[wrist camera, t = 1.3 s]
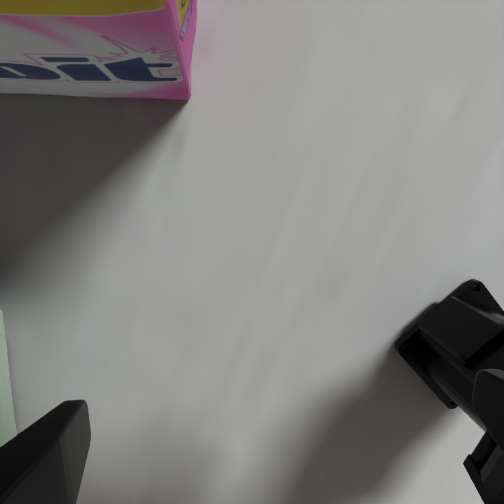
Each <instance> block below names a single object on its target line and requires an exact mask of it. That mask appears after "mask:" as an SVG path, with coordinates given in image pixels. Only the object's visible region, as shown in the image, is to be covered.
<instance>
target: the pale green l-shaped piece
mask: <svg viewBox="0 0 504 504" xmlns="http://www.w3.org/2000/svg"><path fill="white" fill-rule="evenodd" d="M16 435H17V432H16V423H15V415H14V406H13V398H12V389H11V381H10V372H9V364H8V355H7V347H6V338H5V330H4V321H3V313H2V310H0V447H1V446H3V445H4V444H5V443H7V442H8V441H10V440H11V439H12V438H14V437H15V436H16Z"/></svg>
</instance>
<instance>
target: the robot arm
mask: <svg viewBox="0 0 504 504" xmlns="http://www.w3.org/2000/svg"><path fill="white" fill-rule="evenodd" d="M475 285H476V287H475V289H474V290H472V289H473V287H474V286H475ZM405 345H407V346H406V348H405V349H402V348H403V346H405ZM395 349H396V351H397V352H398V353H399V354H400V355H401V356H402V357H403V358H404V360H405V361H406V362H407V363H408V364H409V365H410V366H411V367H412V368H413V370H414V371H415V372H416V373H417V374H418V375H419V376H420V377H421V379H422V380H423V381H424V382H425V383H426V384H427V385H428V386H429V387H430V389H431V390H432V391H433V392H434V393H435V394H436V395H437V396H438V397H439V399H440V400H441V401H442V402H443V403H444V404H445V405H446V406H447V407H448V408H450V409H453V408H456V407H458V406H459V407H460V408H461V409H462V410H463V411H464V412H465V413H466V414H467V415H468V416H469V417H470V418H471V419H472V420H473V421H474V422H475V423H476V424H477V425H478V426H480V427H481V428H482V429H483V430H484V431H485V434H484V435H483V437H482V438H481V440H480V441H479V443H478V445H477V446H476V448H475V449H474V451H473V453H472V454H471V455H470V454H469V455H468V456H467V458H466V459H465V461H464V462H463V465H464V466H465V468H466V470H467V472H468V474H469V476H470V478H471V480H472V481H473V483H474V485H475V487H476V489H477V491H478V493H479V494H480V496H481V498H482V500H483V502H484V504H504V311H503V310H502V308H501V307H500V306H499V304H498V303H497V302H496V300H495V299H494V298H493V296H492V295H491V294H490V292H489V291H488V290H487V288H486V287H485V286H484V284H483V283H482V282H480V281H478V280H475V279H471V280H469V281H467V282H466V283H465V284H464V285H463V286H461V287H460V288H459V289H458V290H457V291H456V292H454V293H453V294H452V295H451V296H450V297H449V298H447V299H446V300H445V301H444V302H443V303H442V304H440V305H439V306H438V307H437V308H436V309H434V310H433V311H432V312H431V313H430V314H429V315H427V316H426V317H425V318H424V319H423V320H422V321H420V322H419V323H418V324H417V325H416V326H415V327H413V328H412V329H411V330H410V331H409V332H408V333H406V334H405V335H404V336H403V337H402V338H401V339H399V340H398V341H397V343H396V345H395ZM451 400H452V401H451ZM90 441H91V430H90V422H89V413H88V406H87V403H86V401H85V400H68V401H64V402H62V403H61V404H60V405H58V406H57V407H55V408H54V409H53V410H51V411H50V412H48V413H47V414H46V415H44V416H43V417H41V418H40V419H39V420H37V421H36V422H35V423H33V424H32V425H30V426H29V427H28V428H26V429H25V430H23V431H22V432H21V433H19V434H18V435H16V436H15V437H14V438H12V439H11V440H10V441H8V442H7V443H5V444H4V445H3V446H1V447H0V504H76V501H77V497H78V493H79V489H80V484H81V480H82V476H83V472H84V468H85V463H86V459H87V455H88V451H89V447H90Z"/></svg>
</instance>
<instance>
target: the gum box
mask: <svg viewBox="0 0 504 504" xmlns="http://www.w3.org/2000/svg"><path fill="white" fill-rule="evenodd" d="M196 19H197V0H0V93H15V94H48V95H65V96H81V97H104V98H145V99H170V100H189V99H190V97H191V59H192V51H193V43H194V37H195V32H196Z"/></svg>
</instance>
